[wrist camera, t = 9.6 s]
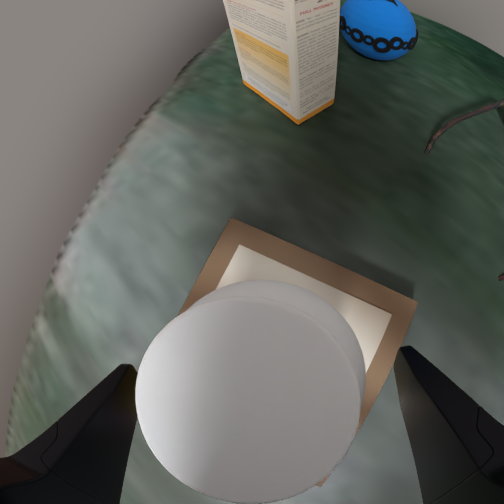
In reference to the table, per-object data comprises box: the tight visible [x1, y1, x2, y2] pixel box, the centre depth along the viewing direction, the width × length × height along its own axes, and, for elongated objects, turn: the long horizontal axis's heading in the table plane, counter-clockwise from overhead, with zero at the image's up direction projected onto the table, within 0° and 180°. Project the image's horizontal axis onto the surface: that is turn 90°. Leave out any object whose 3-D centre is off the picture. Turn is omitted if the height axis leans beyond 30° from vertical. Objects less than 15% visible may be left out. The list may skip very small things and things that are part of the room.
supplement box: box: [223, 0, 340, 125], centre depth 19 cm, size 8×5×13 cm, turn 37°
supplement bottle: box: [135, 280, 366, 504], centre depth 11 cm, size 7×7×13 cm
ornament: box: [339, 0, 418, 60], centre depth 21 cm, size 9×9×10 cm
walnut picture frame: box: [178, 218, 418, 487], centre depth 18 cm, size 14×14×1 cm
